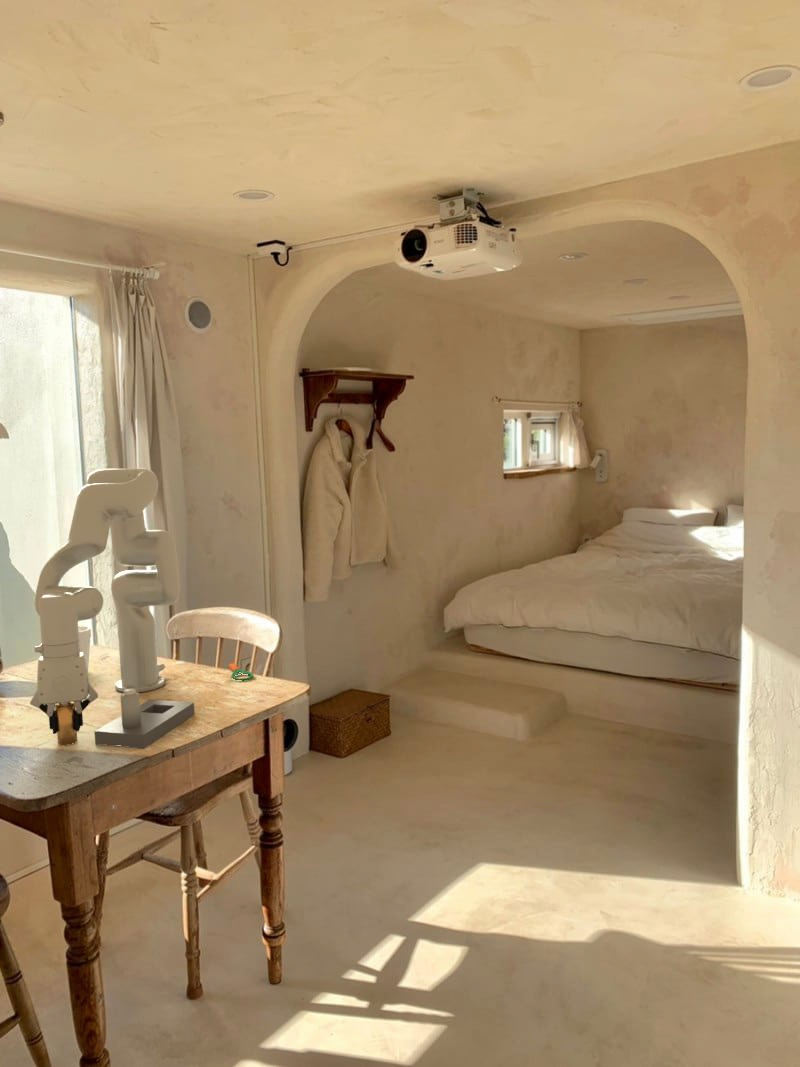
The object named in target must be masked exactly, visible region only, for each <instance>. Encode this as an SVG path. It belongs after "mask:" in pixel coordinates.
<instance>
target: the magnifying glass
mask: <svg viewBox="0 0 800 1067" xmlns="http://www.w3.org/2000/svg"><path fill="white" fill-rule="evenodd" d="M228 667H229V669H230V670H231V671H232V674H231V675H230V676H231V677H230V679H231V678H233V679H235V680H242V681H243V682H245V681H244V680H249V679H251V678H253V679H254V673H253V672H250V671H248V670H243V669H240V668H239V667H238V666H237V664H235V663H234V662H233V663H229V665H228ZM239 672H241V673H243V674H248V676H247V677H244V678H243V677H241V678H238V677H235V678H234V676H235V675H238V674H241V673H239ZM241 675H242V674H241ZM249 681H250V680H249Z"/></svg>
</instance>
